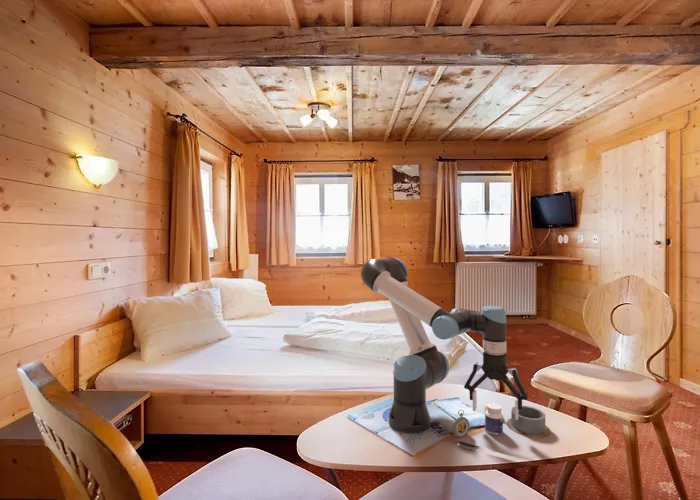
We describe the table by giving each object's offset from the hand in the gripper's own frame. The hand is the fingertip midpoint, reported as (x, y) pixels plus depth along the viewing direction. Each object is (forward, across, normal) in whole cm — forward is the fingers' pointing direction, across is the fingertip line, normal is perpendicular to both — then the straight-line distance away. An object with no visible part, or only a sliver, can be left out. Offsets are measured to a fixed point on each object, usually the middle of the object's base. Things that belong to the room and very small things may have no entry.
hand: (495, 413), depth 124 cm
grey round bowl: (+6, +9, +9) cm, 15 cm away
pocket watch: (+8, -8, -10) cm, 15 cm away
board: (+8, +9, +9) cm, 15 cm away
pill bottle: (+8, -1, 0) cm, 8 cm away
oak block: (+8, -3, +11) cm, 14 cm away
